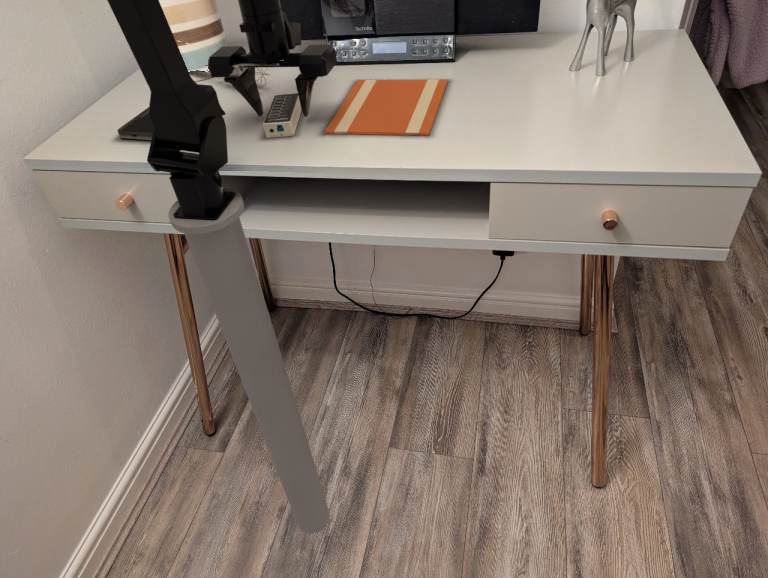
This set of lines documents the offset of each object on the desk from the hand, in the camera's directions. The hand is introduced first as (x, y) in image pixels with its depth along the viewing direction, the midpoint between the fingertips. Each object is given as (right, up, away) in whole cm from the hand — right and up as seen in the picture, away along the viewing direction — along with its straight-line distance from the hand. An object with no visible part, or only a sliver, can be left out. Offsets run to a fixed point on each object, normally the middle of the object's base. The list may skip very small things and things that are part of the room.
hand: (283, 115), depth 92 cm
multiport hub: (0, -1, +1) cm, 1 cm away
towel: (+17, +2, +1) cm, 17 cm away
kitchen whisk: (-17, +13, +19) cm, 28 cm away
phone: (-21, +1, +6) cm, 22 cm away
